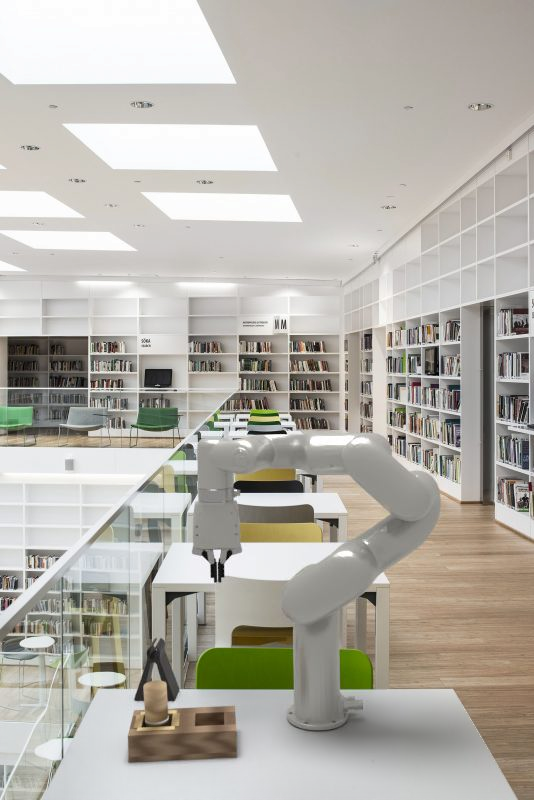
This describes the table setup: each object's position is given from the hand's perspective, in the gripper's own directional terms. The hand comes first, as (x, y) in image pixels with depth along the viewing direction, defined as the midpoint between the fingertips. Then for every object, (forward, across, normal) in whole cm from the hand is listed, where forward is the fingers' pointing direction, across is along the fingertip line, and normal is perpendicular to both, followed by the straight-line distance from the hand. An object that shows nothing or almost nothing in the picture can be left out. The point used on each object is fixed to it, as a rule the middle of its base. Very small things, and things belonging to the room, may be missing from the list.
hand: (217, 580), depth 168 cm
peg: (+26, +12, +17) cm, 33 cm away
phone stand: (+27, +14, -7) cm, 32 cm away
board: (+27, +7, +18) cm, 33 cm away
